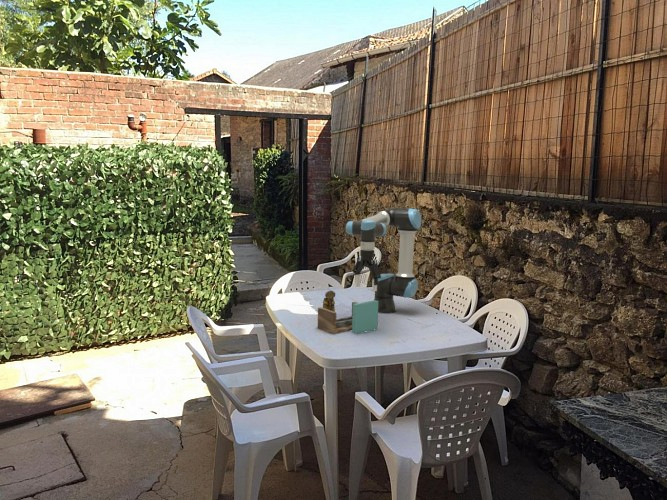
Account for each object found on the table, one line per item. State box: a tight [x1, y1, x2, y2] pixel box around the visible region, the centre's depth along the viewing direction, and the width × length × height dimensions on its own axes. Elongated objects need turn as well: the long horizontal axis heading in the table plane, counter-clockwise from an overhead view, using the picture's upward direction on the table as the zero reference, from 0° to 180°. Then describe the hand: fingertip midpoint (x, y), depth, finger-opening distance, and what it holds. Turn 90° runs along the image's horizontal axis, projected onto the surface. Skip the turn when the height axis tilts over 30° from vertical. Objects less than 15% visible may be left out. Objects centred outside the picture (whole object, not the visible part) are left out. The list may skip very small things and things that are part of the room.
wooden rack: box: [317, 301, 358, 335], centre depth 296 cm, size 26×14×12 cm, turn 127°
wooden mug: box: [322, 290, 336, 312], centre depth 315 cm, size 9×14×18 cm, turn 7°
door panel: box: [351, 300, 379, 335], centre depth 289 cm, size 16×2×16 cm, turn 127°
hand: (366, 288), depth 287 cm, fingers open, 13 cm apart
